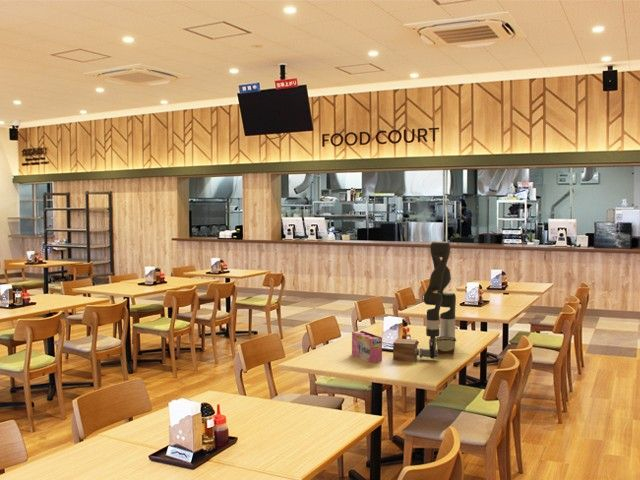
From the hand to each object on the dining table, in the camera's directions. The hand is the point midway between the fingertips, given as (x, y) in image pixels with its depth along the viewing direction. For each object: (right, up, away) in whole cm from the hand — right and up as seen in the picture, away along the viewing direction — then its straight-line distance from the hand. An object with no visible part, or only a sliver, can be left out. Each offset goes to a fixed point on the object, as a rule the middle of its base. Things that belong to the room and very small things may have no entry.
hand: (432, 357), depth 377 cm
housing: (-15, -1, +5) cm, 16 cm away
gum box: (-37, -2, +7) cm, 38 cm away
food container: (+10, -1, +16) cm, 19 cm away
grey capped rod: (-6, -1, +2) cm, 7 cm away
